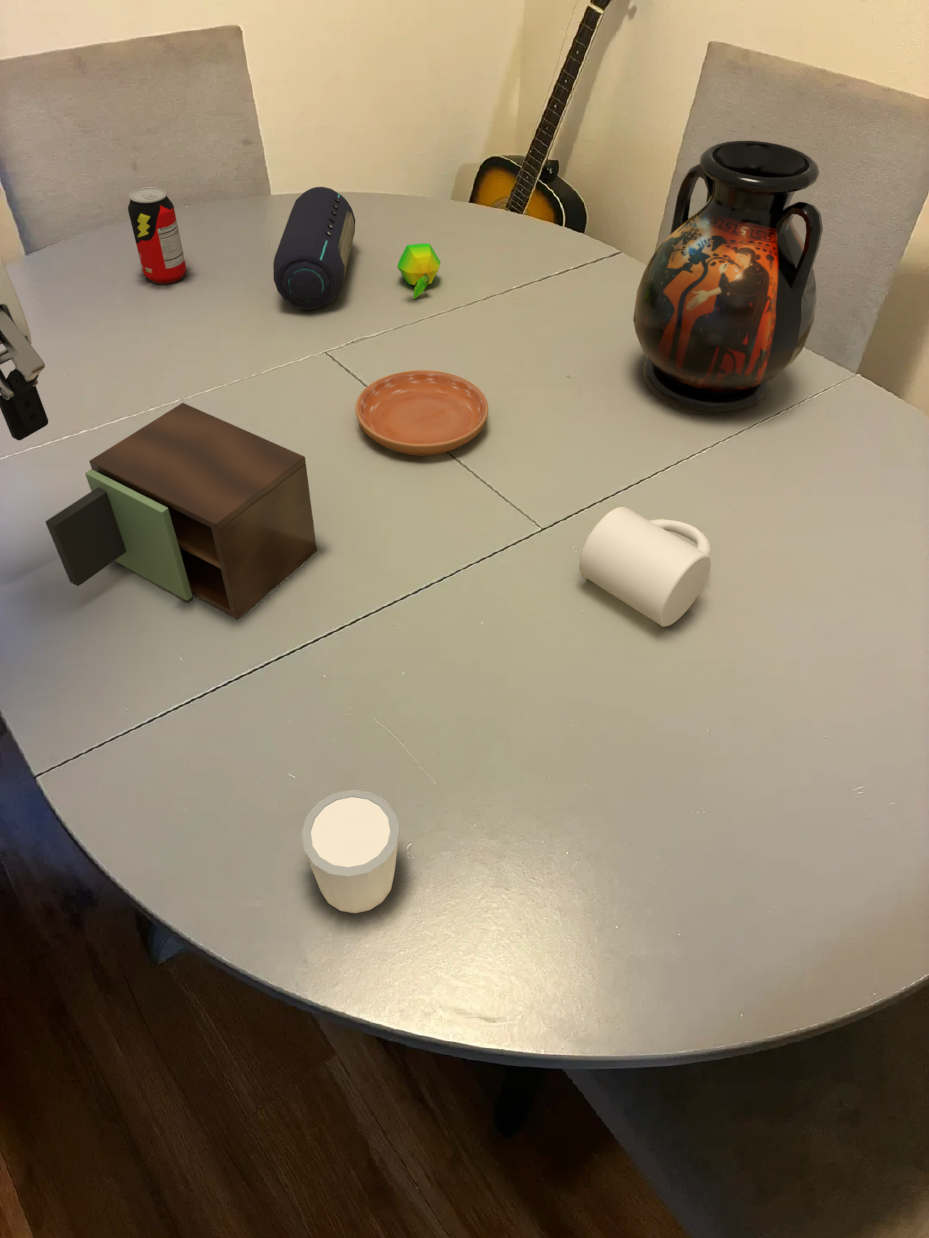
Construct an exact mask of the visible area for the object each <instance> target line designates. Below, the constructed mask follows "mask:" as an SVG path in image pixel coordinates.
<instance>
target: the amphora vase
mask: <svg viewBox="0 0 929 1238" xmlns="http://www.w3.org/2000/svg"><path fill="white" fill-rule="evenodd" d="M819 176H820V168H819V165H818V163H817V162H816V161H815V160H814V159H813V158H812V157H811V156H809V155H808V154H806V153H805V152H803V151H800V150H798V149H796V148H793V147H790V146H787V145H783V144H779V143H774V142H768V141H761V140H730V141H725V142H724V141H723V142H720V143H716V144H714V145H712V146H710V147H708V148H706V149H705V150H704V151H703V152H702V153H701V155H700V156H699V163H698V164H695V165H693V166H692V167H691V168H689V170H688V171H687V173H686V174H685V175H684V176H683V178H682V179H681V183H680V186H679V189H678V192H677V196H676V202H675V207H674V212H673V217H672V223H671V228H670V232H669V233H670V234H669V236H667V238H665V240H664V241H663V242H662V243H660V245H659V247H658V248H657V249H656V250H655V252H654V253H653V254H652V256H651V257H650V260H649V262H648V263H647V265H646V267H645V269H644V271H643V273H642V277H641V279H640V282H639V285H638V288H637V290H636V296H635V303H634V311H633V318H632V321H633V326H634V331H635V335H636V337H637V340H638V342H639V345H640V347H641V349H642V352H643V353H644V355H645V356H646V359H644V361H643V367H642V376H643V379H644V381H645V384H646V385H647V387H648V388H649V389H650V390H651V391H652V393H653V394H654V395H655V396H657V397H658V398H659V399H662V400H663V401H664V402H666V403H668V404H669V405H671V406H674V407H676V408H678V409H682V410H684V411H688V412H692V413H694V414H695V413H697V414H701V415H711V416H719V415H720V416H721V415H722V416H723V415H725V416H727V415H733V414H738V413H739V414H740V413H743V412H745V411H748V410H750V409H753V408H755V407H756V406H758V405H760V404H761V403H762V402H763V401H764V400H765V399H766V398H767V395H768V393H769V391H770V389H771V386H772V385H771V380H773V379H774V378H775V377H776V376H778V375H779V374H781V372H783V371H784V370H786V369H787V368H788V367H789V366H790V365H791V364H793V362H795V360H796V359H797V358H798V356H799V355H800V354H801V353H802V351H803V349H804V346H805V345H806V343H807V340H808V338H809V336H810V332H811V329H812V327H813V324H814V323H815V322H814V321H815V314H816V306H817V281H816V275H815V269H814V265H815V261H816V258H817V255H818V252H819V249H820V245H821V240H822V236H823V230H824V227H823V221H822V214H821V212H820V210H819V209H818V208H817V206H816V205H815V204H812V203H810V202H807V201H806V202H805V201H798V202H794V203H793V204H791V202H792V200H793V197H794V195H795V192H800V191H803V190H805V189H807V188H810V186H812V185H814V184H815V183H816V181H817V180H818V178H819ZM700 178H701V179H702V180H703V181H704V184H705V187H706V191H707V192H706V199H705V200H706V202H705V204H704V205H703V206H702V207H701V208H700V209H699V210H697V212H695V213H694V214H692V215H691V216H690V215H689V214H690V208H691V201H692V195H693V192H694V189H695V187H696V184H697V181H698V180H699V179H700ZM796 215H797V216H799V217H801V218H802V219H803V222H804V223H805V236H804V237H805V238H804V241H803V239H802V237H801V235H800V234H799V232H798V230H797V228H796V226H795V224H794V223H793V219H794V217H795V216H796ZM689 216H690V217H689Z"/></svg>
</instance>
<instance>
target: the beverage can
mask: <svg viewBox="0 0 929 1238" xmlns="http://www.w3.org/2000/svg"><path fill="white" fill-rule="evenodd" d="M128 197H129V203H128V205H127V212H128V215H129V216H128V217H129V221H130V223H131V229H132V232H133V233H132V234H133V236H134V237H133V238H134V240H135V245H136V249H137V253H138V257H139V261H140V266H141V269H142V273H143V275H144V276H145V277H146V278H147V279H149V280H150V281H152V282H153V283H156V284H161V285H162V284H163V285H165V284H171V283H175V282H178V281H179V280H181V279H182V277H183V276H184V275H185V274H186V271H187V265H186V260H185V255H184V250H183V245H182V240H181V235H180V230H179V226H178V219H177V216H176V211H175V207H174V206H175V205H174V203H173V202H172V200H171V199H170V198H169V197H168V194H167V191H166V190H165V189H163V188H160V187H155V186H154V187H153V186H151V187H148V186H147V187H142V188H141V187H139V188H137V189H134V190H132V191H131V192H130V193H129V194H128Z"/></svg>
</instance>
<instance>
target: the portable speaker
mask: <svg viewBox="0 0 929 1238" xmlns="http://www.w3.org/2000/svg"><path fill="white" fill-rule="evenodd" d="M355 231H356V217H355V214H354V211H353V208H352V207H351V205H350V203H349V202H348V200H347V199H346V198H345V197H344V196H343V195H342V194H341V193H339V192H337V191H336V190H334V189H332V188H330V187H326V186H315V187H311V188H309V189H307V190H306V191H304V192H303V193H302V194H300V196H298V198H296V199H295V201H294V204H293V206H292V208H291V211H290V213H289V215H288V218H287V222H286V224H285V226H284V230H283V233H282V235H281V238H280V242H279V243H278V246H277V250H276V252H275V255H274V259H273V264H272V265H273V266H272V267H273V281H274V286H275V288H276V290H277V293H278V294H279V295H280V296H281V297H282V299H284V301H285V302H286V303H288V304H290V305H292V306H293V308H298V309H301V310H315V309H319V308H321V307H324V306H327V305H328V304H330V303H331V302H332V301H334V300H335V299H336V298H337V297H338V296H339V294H340V292H341V290H342V287H343V285H344V282H345V277H346V273H347V268H348V263H349V259H350V254H351V250H352V245H353V241H354V237H355V233H356V232H355Z"/></svg>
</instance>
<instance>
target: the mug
mask: <svg viewBox="0 0 929 1238" xmlns="http://www.w3.org/2000/svg"><path fill="white" fill-rule="evenodd" d="M673 533H675V534H678V535H679V536H682V537H683V538H686V539H688V540H690V541H691V542H693V543H694V544H695V545H696V546H694V545H692V544H690V543H689V542H687V541H685V540H684V539H682V538H680V537H678V536H676V535H675V534H673ZM711 550H712V548H711V545H710V541H709V540H708V538H707V536H706V535H705V534H704V533H703V532H702V531H701V530H700V529H698V528H697V527H695V526H693V525H691V524H689V523H686V522H683V521H679V520H673V519H665V518H664V519H661V518H659V519H658V518H657V519H650V520H649V519H647V518H645V517H643V516H642V515H640V514H638V513H637V512H634V511H632V510H631V509H629V508H627V507H625V506H618V507H616V508H613V509H612V510H610V511H609V512H607V513H606V514H605V515H604V516H602V518H601V519H600V520H599V521H598V522H597V523H596V525H595V526H594V528H593V529H592V530H591V531H590V533H589V535H588V537H587V539H586V541H585V543H584V545H583V547H582V550H581V553H580V556H579V561H578V562H579V563H578V567H579V572H580V575H582V577H584V578H585V579H586V580H588V581H590V582H592V583H593V584H595V585H597V586H598V587H599V588H601V589H603V590H604V591H606V592H607V593H609V594H610V595H612V596H613V597H615V598H617V599H618V600H620V601H622V602H623V603H624V604H626V605H628V606H629V607H631V608H632V609H634V610H636V611H637V612H638V613H640V614H642V615H643V616H645V617H647V618H648V619H649V620H651V621H653V622H654V623H656V624H657V625H659V626H661V627H670V626H671V625H673V624H675V623H676V622H677V621H679V620H680V619H681V617H682V616H684V615H685V613H686V612H687V611H688V610H689V609H690V607H692V605H693V603H694V602H695V600H696V599H697V597H698V596H699V595H700V593H701V591H702V589H703V587H704V586H705V583H706V581H707V579H708V576H709V573H710V570H711V565H712V564H711V563H712V562H711V556H710V555H711Z"/></svg>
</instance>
